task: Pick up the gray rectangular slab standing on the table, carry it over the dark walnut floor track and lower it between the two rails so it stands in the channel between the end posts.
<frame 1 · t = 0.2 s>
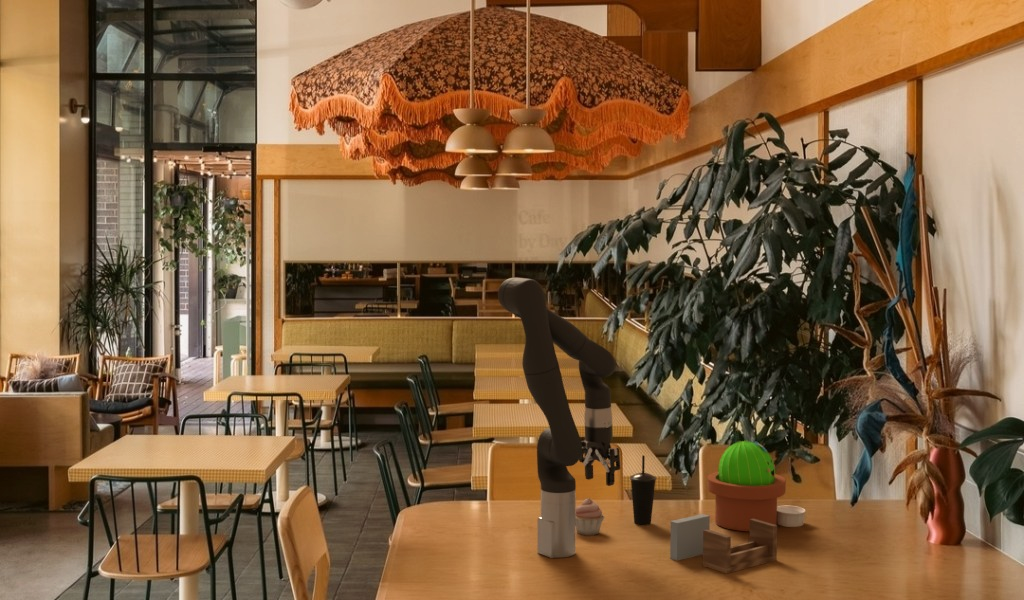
hand: (599, 482, 298), 17 cm above the table, tool pointing down, fingers open, 8 cm apart
potted cactus: (745, 524, 320), on the table
cupcake: (588, 533, 311), on the table
drinking cup: (642, 524, 320), on the table
ramekin: (789, 524, 321), on the table
gray rectangular slab: (689, 555, 290), on the table
track: (739, 562, 283), on the table
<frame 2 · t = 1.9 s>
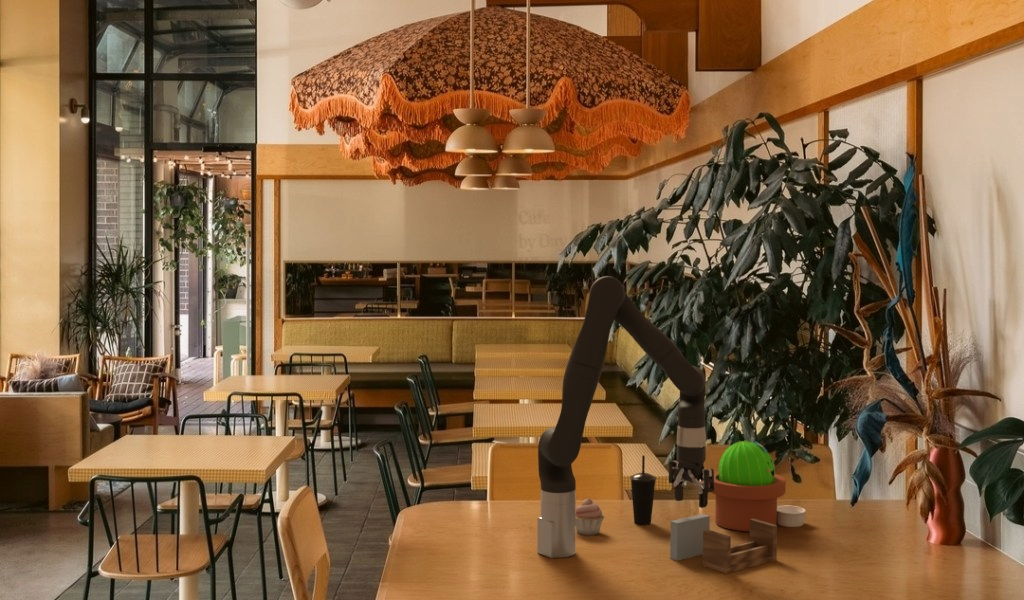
hand: (691, 503, 289), 14 cm above the table, tool pointing down, fingers open, 8 cm apart
nothing on the table moved.
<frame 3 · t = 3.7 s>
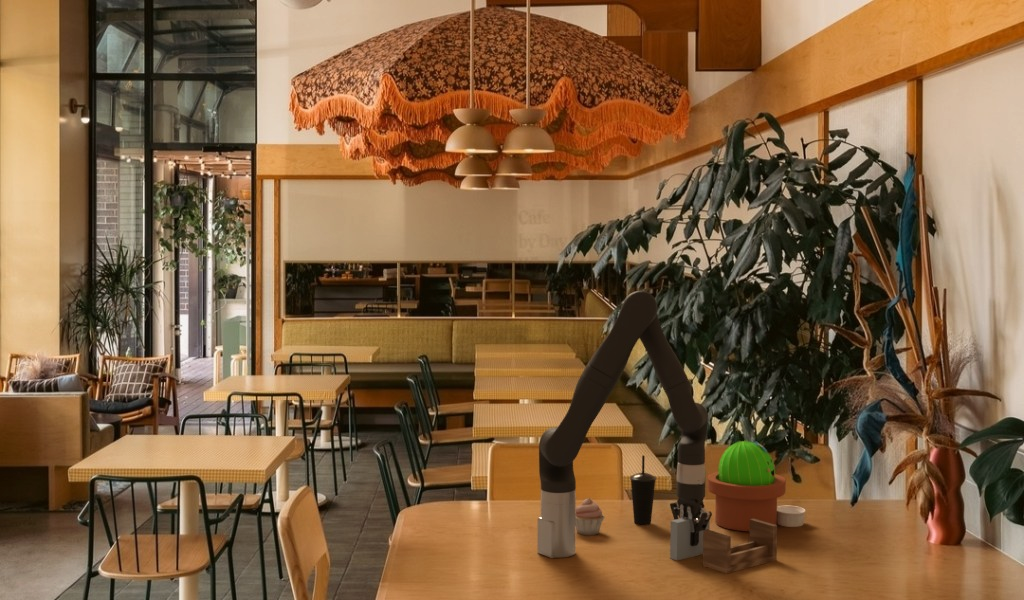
hand: (690, 543, 289), 3 cm above the table, tool pointing down, fingers closed on gray rectangular slab, 2 cm apart
gray rectangular slab: (689, 555, 290), on the table, touching gripper
everything else where it was.
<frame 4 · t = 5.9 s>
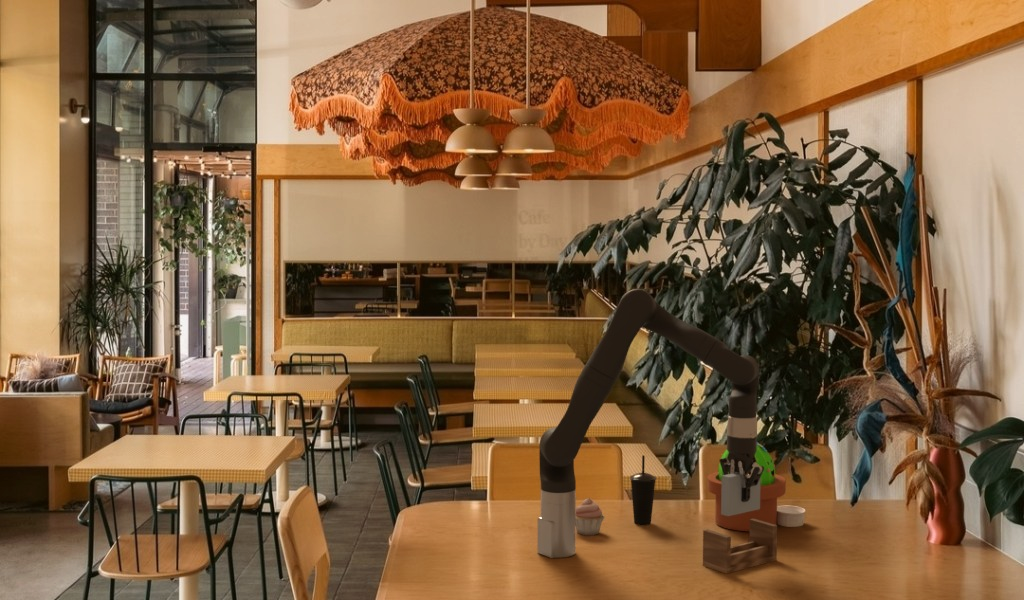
hand: (740, 499, 282), 16 cm above the table, tool pointing down, fingers closed on gray rectangular slab, 2 cm apart
gray rectangular slab: (740, 511, 283), point 13 cm above the table, touching gripper
everything else where it was.
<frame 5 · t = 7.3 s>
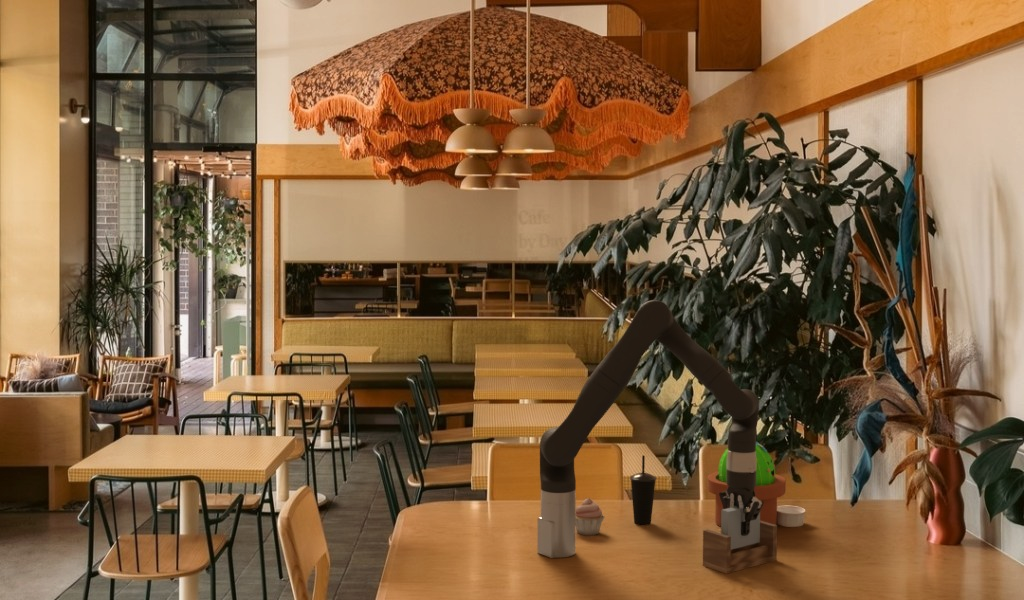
hand: (740, 533, 283), 8 cm above the table, tool pointing down, fingers closed on gray rectangular slab, 2 cm apart
gray rectangular slab: (740, 545, 283), point 5 cm above the table, touching gripper
everything else where it was.
when the fingers open (6 cm above the table, at t = 8.3 s): gray rectangular slab stays where it is, resting on track.
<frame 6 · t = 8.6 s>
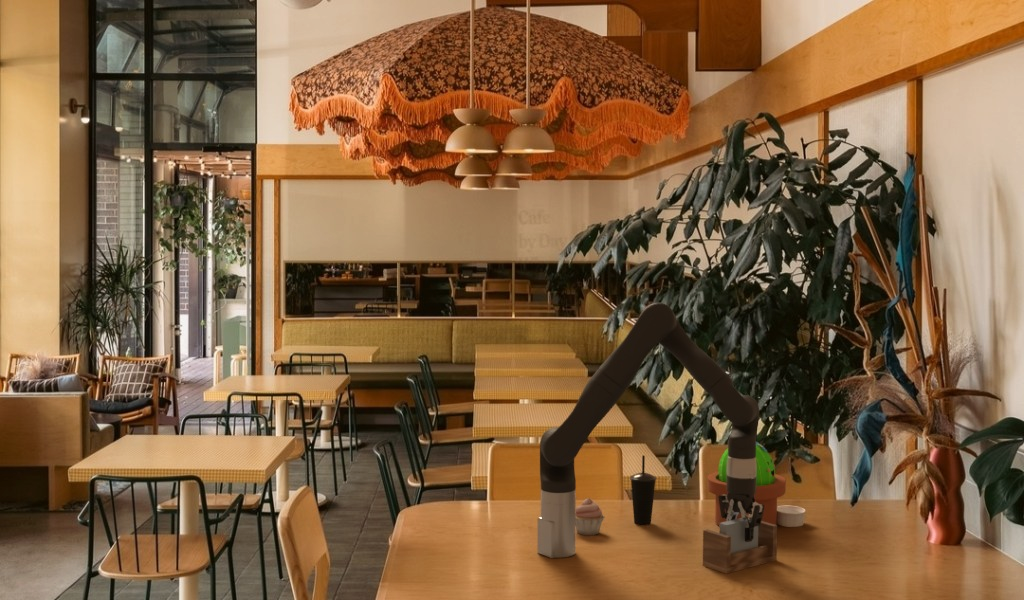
hand: (740, 538, 283), 6 cm above the table, tool pointing down, fingers open, 5 cm apart
gray rectangular slab: (738, 558, 283), point 1 cm above the table, touching track
everything else where it was.
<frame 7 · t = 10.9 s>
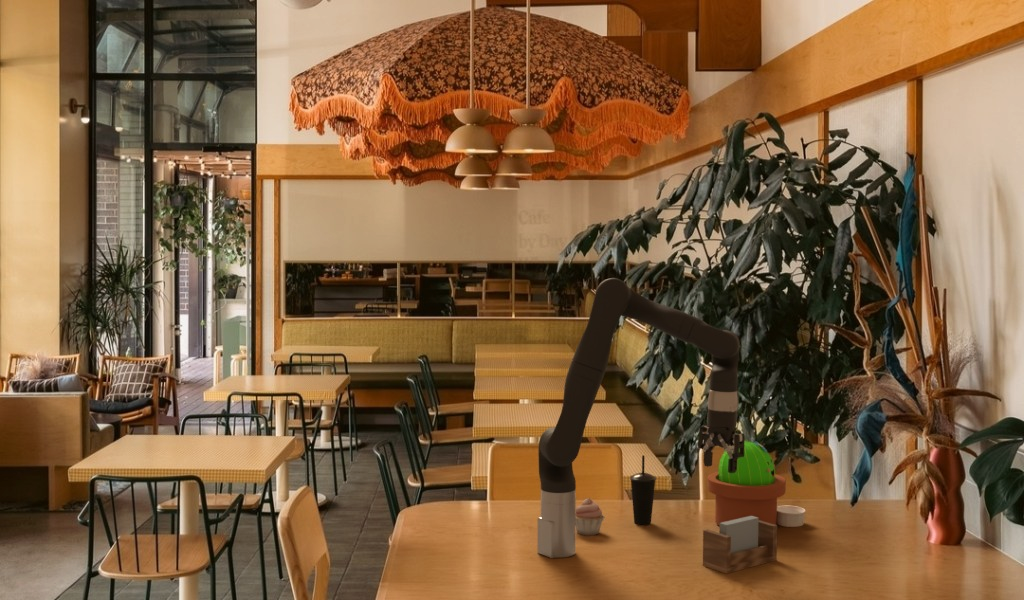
hand: (719, 469, 285), 24 cm above the table, tool pointing down, fingers open, 8 cm apart
nothing on the table moved.
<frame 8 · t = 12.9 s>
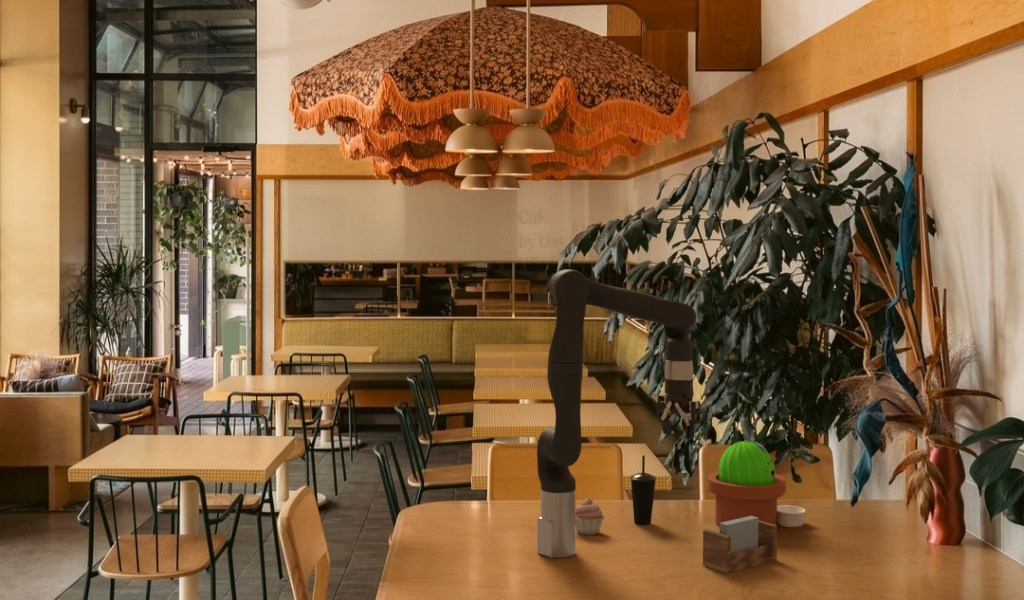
hand: (678, 436, 296), 30 cm above the table, tool pointing down, fingers open, 8 cm apart
nothing on the table moved.
at the end: gray rectangular slab inside the target area on the track (0.5 cm from its centre), point 1.2 cm above the track's base; gray rectangular slab tilted 0°; the gripper is holding nothing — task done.
